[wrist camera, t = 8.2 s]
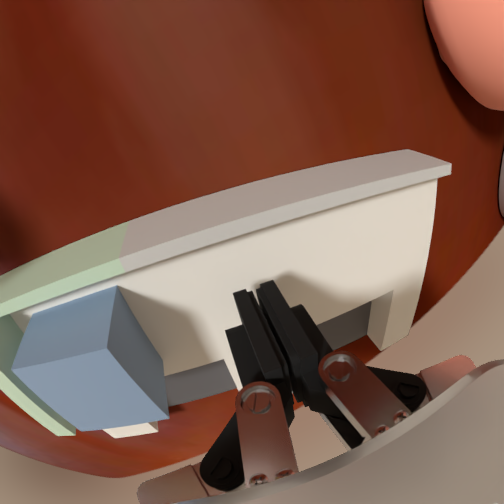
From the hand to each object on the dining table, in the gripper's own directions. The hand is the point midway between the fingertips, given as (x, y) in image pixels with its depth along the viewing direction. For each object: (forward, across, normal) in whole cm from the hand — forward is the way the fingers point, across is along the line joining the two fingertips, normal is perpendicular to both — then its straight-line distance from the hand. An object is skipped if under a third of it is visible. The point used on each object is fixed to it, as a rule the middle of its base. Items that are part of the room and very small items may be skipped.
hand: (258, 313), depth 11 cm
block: (+1, +8, 0) cm, 8 cm away
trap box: (+4, +1, +3) cm, 5 cm away
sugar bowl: (+4, -20, -14) cm, 25 cm away
